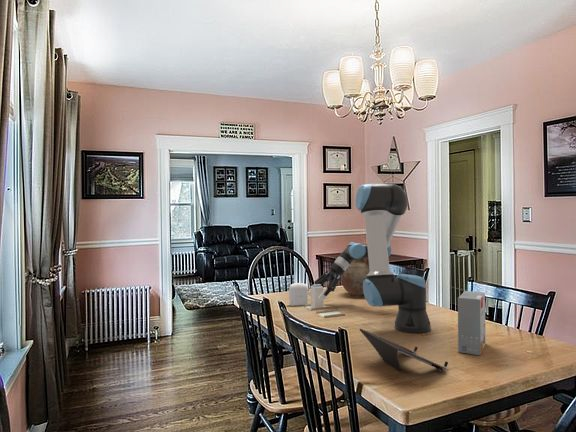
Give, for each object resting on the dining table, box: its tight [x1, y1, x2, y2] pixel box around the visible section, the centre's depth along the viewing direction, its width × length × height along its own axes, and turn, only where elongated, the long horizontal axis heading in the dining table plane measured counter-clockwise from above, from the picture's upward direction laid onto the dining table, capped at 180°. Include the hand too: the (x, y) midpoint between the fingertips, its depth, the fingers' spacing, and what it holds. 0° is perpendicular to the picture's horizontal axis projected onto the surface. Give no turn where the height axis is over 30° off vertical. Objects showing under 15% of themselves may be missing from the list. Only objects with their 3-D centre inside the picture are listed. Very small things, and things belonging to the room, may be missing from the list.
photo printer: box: [288, 282, 309, 307], centre depth 226 cm, size 10×4×12 cm, turn 98°
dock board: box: [303, 303, 346, 319], centre depth 207 cm, size 26×12×2 cm, turn 20°
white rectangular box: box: [310, 283, 325, 308], centre depth 214 cm, size 5×5×12 cm
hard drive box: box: [457, 290, 486, 356], centre depth 151 cm, size 16×8×20 cm, turn 148°
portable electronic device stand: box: [359, 328, 449, 374], centre depth 136 cm, size 23×23×9 cm
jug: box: [340, 258, 370, 298], centre depth 248 cm, size 22×22×30 cm
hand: (314, 297), depth 214 cm, fingers open, 13 cm apart
